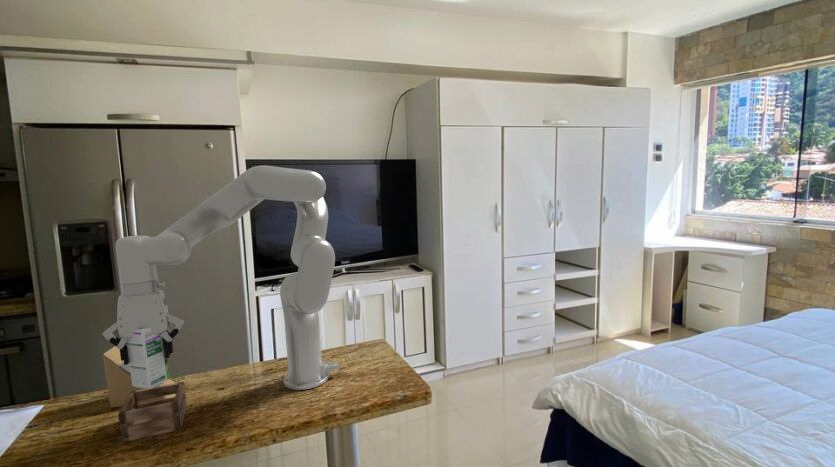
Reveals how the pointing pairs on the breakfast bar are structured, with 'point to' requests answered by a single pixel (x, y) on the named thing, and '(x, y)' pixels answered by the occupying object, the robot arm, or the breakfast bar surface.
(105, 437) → the breakfast bar surface
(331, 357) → the breakfast bar surface
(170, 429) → the crate
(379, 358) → the breakfast bar surface
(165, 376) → the syrup box
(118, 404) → the sandwich container
